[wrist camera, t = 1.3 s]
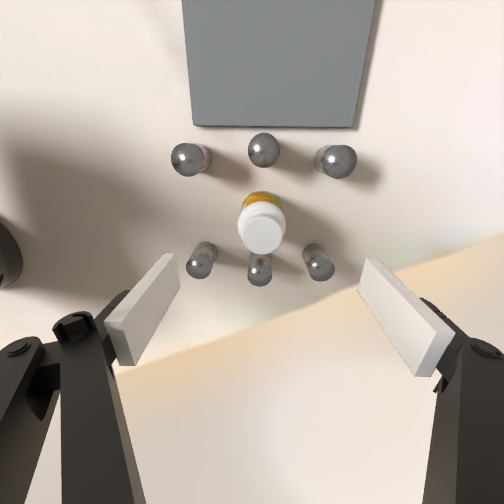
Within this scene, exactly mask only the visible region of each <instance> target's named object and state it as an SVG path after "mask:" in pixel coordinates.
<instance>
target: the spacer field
mask: <svg viewBox="0 0 504 504" xmlns="http://www.w3.org/2000/svg"><path fill="white" fill-rule="evenodd" d="M279 151H280V149H279V144H278V142H277V140H276V138H275V137H274V136H272V135H271V134H268V133H260V134H258V135H256V136H255V137H254V138H253V139H252V140H251V141H250V143H249V147H248V155H249V158H250V160H251V161H252V163H253V164H254V165H256V166H258V167H261V168H265V167H269V166H271V165H273V164H274V163H275V162H276V160H277V158H278V156H279ZM171 161H172V165H173V167H174V169H175V170H176V171H177V172H178V173H179V174H181V175H183V176H188V177H189V176H194V175H196V174H198V173H200V172H202V171H204V170H206V169H207V168H208V167H209V165H210V163H211V156H210V153H209V151H208V149H207V148H206V147H205V146H203V145H201V144H191V143H182V144H179V145H177V146H176V147H175V148H174V149H173V151H172V154H171ZM356 163H357V156H356V153H355V151H354V150H353V149H352V148H351V147H349V146H346V145H327V146H324V147H322V148H320V149H319V150H318V151H317V153H316V155H315V157H314V165H315V168H316V169H317V170H318V171H319V172H321V173H323V174H326V175H328V176H330V177H333V178H336V179H341V178H344V177H346V176H348V175H349V174H350V173H351V172H352V171H353V170H354V168H355V166H356ZM216 255H217V250H216V248H215V246H214V245H213V244H211V243H208V242H202V243H200V244H199V245H198V246H197V247H196V249H195V250H194V252H193V254H192V256H191V257H190V259H189V261H188V262H187V264H186V270H187V272H188V274H189V275H190V276H192V277H193V278H196V279H204V278H206V277H207V276H208V275H209V274H210V272H211V269H212V266H213V264H214V261H215V258H216ZM302 257H303V259H304V262H305V264H306V267H307V269H308V271H309V274H310V276H311V278H312V279H314V280H315V281H326V280H328V279H330V278H331V277H332V276H333V274H334V271H335V268H334V265H333V264H332V262H331V260H330V259H329V257H328V256H327V254H326V253H325V251H324V250H323V248H322V247H321V246H320V245H317V244H311V245H309V246H307V247H306V248H305V249H304V250H303V253H302ZM271 279H272V272H271V263H270V256H269V254H256V253H253V252H251V254H250V255H249V264H248V280H249V282H250V283H251V284H253V285H255V286H259V287H260V286H265V285H267V284H268V283H269V282H270V281H271Z"/></svg>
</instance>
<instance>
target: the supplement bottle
mask: <svg viewBox="0 0 504 504" xmlns="http://www.w3.org/2000/svg"><path fill="white" fill-rule="evenodd" d="M237 227H238V233H239V235H240V237H241V239H242V240H243V242H244V245H245V246H246V247H247V248H248V249H249V250H250V251H251V252H253V253H256V254H269V253H271V252H273V251H274V250H276V249H277V248H278V247H279V245H280V244H281V241H282V238H283V236H284V234H285V231H286V220H285V216H284V214H283V211H282V209H281V206H280V203H279V201H278V200H277V198H276V197H275V196H274V195H272V194H271V193H269V192H266V191H256V192H253V193H251V194H250V195H248V196H247V197H246V199H245V200H244V202H243V204H242V207H241V210H240V214H239V218H238V224H237Z"/></svg>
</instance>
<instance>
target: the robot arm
mask: <svg viewBox="0 0 504 504" xmlns="http://www.w3.org/2000/svg"><path fill="white" fill-rule="evenodd" d="M21 268H22V260H21V255H20V252H19V249H18V247H17V245H16V243H15V241H14V240H13V238H12V237H11V235H10V234H9V233H8V232H7V230H6V229H5V228H4V227H3V226H2V225H1V224H0V289H1V288H3V287H4V286H6V285H8V284H10V283H11V282H13V281H14V280H15V279H17V277H18V276H19V274H20V272H21ZM179 288H180V281H179V274H178V268H177V261H176V255H175V253H164V254H163V255H162V256H161V257H160V259H159V260H158V261H157V262H156V263H155V264H154V265H153V266H152V268H151V269H150V270H149V271H148V272H147V273H146V274H145V275H144V277H143V278H142V279H141V280H140V281H139V282H138V283H137V284H136V285H135V287H134V288H133V289H132V290H125V291H123V292H122V293H120V294H118V295H117V296H116V297H115V298H114V299H113V300H112V301H111V303H109V304H108V305H107V306H106V308H104V309H103V310H102V311H101V313H100V314H99V315H98V316H97V317H96V318H95V319H93V317H92V315H91V313H90V312H86V311H81V312H76V313H72V314H69V315H67V316H65V317H63V318H62V319H60V320H59V321H57V322H56V323H55V325H54V326H53V329H52V330H53V332H54V334H55V336H56V338H57V340H58V341H56V342H51V343H46V344H42V342H41V340H40V339H39V338H38V337H34V336H32V337H25V338H22V339H19V340H17V341H14V342H12V343H11V344H9V345H7V346H6V347H4V348H3V349H2V350H1V351H0V504H24V503H25V499H26V497H27V494H28V490H29V487H30V484H31V481H32V478H33V475H34V472H35V469H36V466H37V462H38V459H39V456H40V453H41V450H42V447H43V444H44V440H45V437H46V434H47V431H48V428H49V425H50V422H51V419H52V416H53V413H54V409H55V406H56V403H57V400H58V397H59V394H61V468H62V469H61V471H62V472H61V476H62V504H146V501H145V497H144V493H143V489H142V485H141V481H140V477H139V472H138V468H137V465H136V460H135V456H134V452H133V448H132V444H131V440H130V436H129V432H128V428H127V424H126V420H125V416H124V412H123V408H122V403H121V399H120V395H119V391H118V388H117V384H116V379H115V375H114V371H113V368H112V365H111V364H112V363H113V361H114V360H115V358H116V357H117V360H118V363H119V365H120V366H136V364H137V362H138V360H139V359H140V357H141V355H142V353H143V352H144V350H145V348H146V346H147V345H148V343H149V341H150V339H151V337H152V336H153V334H154V332H155V330H156V329H157V327H158V325H159V323H160V322H161V320H162V318H163V316H164V314H165V313H166V311H167V309H168V307H169V306H170V304H171V302H172V300H173V299H174V297H175V295H176V293H177V291H178V290H179ZM357 292H358V293H359V295H360V296H361V298H362V299H363V301H364V302H365V304H366V305H367V307H368V308H369V310H370V311H371V313H372V314H373V316H374V317H375V319H376V320H377V322H378V323H379V325H380V326H381V327H382V329H383V331H384V332H385V333H386V335H387V336H388V338H389V339H390V341H391V343H392V344H393V345H394V347H395V348H396V350H397V351H398V353H399V354H400V356H401V357H402V359H403V360H404V362H405V363H406V365H407V366H408V368H409V369H410V371H411V372H412V374H413V375H414V376H422V377H431V376H432V374H433V372H434V371H435V369H436V368H437V369H438V371H439V372H440V373H441V374H442V377H441V379H440V380H439V382H438V384H437V385H436V387H435V389H434V390H433V392H435V393H436V392H437V391H438V393H437V401H436V407H435V415H434V422H433V429H432V437H431V444H430V451H429V459H428V466H427V473H426V480H425V487H424V495H423V502H422V504H504V354H503V353H502V352H501V351H500V350H499V349H497V348H496V347H494V346H493V345H491V344H489V343H487V342H485V341H483V340H479V339H476V338H470V337H468V336H467V335H466V334H465V333H464V332H463V331H462V330H461V329H459V327H458V326H456V325H455V324H454V323H453V322H452V321H451V320H450V319H449V318H447V317H446V316H445V315H444V314H443V313H442V312H440V310H439V309H438V308H437V307H436V306H434V305H433V304H432V303H430V302H429V301H427V300H425V299H424V298H418V297H417V296H416V295H415V294H414V293H413V292H412V291H411V290H410V289H409V288H408V287H407V286H406V285H405V284H404V283H403V282H402V281H401V280H400V279H399V278H398V277H396V276H395V275H394V274H393V273H392V272H391V271H390V270H389V269H388V268H387V267H386V266H385V265H384V264H383V263H382V262H381V261H380V260H379V259H378V258H366V260H365V264H364V267H363V271H362V275H361V279H360V282H359V286H358V290H357Z"/></svg>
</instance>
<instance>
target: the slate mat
mask: <svg viewBox="0 0 504 504" xmlns="http://www.w3.org/2000/svg"><path fill="white" fill-rule="evenodd" d="M375 1H376V0H182V10H183V21H184V32H185V43H186V54H187V65H188V75H189V86H190V97H191V108H192V119H193V125H195V126H267V127H352V126H353V121H354V115H355V110H356V104H357V99H358V94H359V88H360V83H361V77H362V72H363V66H364V61H365V55H366V50H367V45H368V39H369V34H370V28H371V23H372V17H373V12H374V6H375Z"/></svg>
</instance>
